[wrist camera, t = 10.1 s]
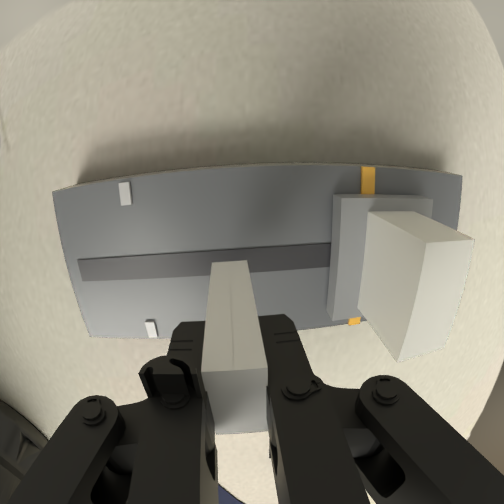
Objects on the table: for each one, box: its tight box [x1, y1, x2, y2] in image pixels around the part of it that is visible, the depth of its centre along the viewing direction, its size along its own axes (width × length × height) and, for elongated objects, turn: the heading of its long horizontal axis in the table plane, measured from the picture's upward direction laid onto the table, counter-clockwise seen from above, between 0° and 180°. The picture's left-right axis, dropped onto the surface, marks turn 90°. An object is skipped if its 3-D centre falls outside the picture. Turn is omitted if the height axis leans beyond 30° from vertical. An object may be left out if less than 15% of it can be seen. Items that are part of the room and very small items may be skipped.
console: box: [52, 163, 462, 338], centre depth 17 cm, size 26×10×3 cm, turn 92°
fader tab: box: [326, 194, 475, 363], centre depth 13 cm, size 6×7×6 cm
